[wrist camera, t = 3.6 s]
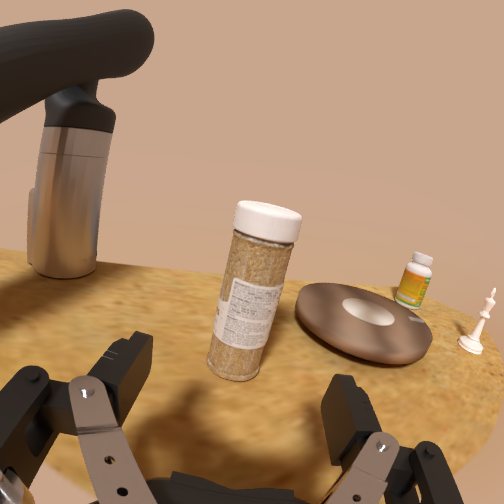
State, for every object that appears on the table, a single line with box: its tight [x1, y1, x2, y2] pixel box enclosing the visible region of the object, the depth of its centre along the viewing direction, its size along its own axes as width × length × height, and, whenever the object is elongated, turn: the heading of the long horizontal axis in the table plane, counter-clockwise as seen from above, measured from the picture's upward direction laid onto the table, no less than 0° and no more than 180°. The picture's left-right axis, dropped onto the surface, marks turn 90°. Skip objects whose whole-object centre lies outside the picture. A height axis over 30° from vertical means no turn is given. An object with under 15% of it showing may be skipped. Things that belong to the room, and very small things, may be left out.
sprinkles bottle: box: [207, 201, 302, 381], centre depth 22 cm, size 5×5×14 cm
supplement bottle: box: [395, 252, 433, 310], centre depth 48 cm, size 5×5×10 cm
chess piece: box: [458, 288, 496, 354], centre depth 33 cm, size 5×5×10 cm
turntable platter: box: [295, 283, 433, 364], centre depth 34 cm, size 18×18×2 cm
